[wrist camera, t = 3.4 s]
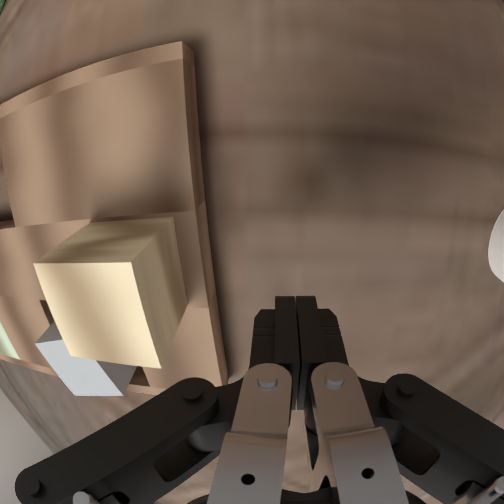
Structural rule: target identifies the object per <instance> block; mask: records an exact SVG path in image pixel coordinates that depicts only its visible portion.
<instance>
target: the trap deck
mask: <svg viewBox="0 0 504 504" xmlns="http://www.w3.org/2000/svg"><path fill="white" fill-rule="evenodd" d="M0 144H1V153H2V160H3V167H4V174H5V180H6V186H7V191H8V196H9V201H10V206H11V210H12V214H13V220H6V221H0V359H2V360H5V361H8V362H11V363H14V364H17V365H20V366H23V367H27V368H30V369H33V370H37V371H40V372H44V373H47V374H51V375H55V376H58V374H57V373H56V372H55V371H54V369H53V368H52V367H51V365H50V364H49V363H48V361H47V360H46V359H45V357H44V356H43V355H42V353H41V352H40V350H39V349H38V348H37V346H36V345H35V343H36V341H37V340H38V339H39V338H40V337H41V336H42V334H43V333H44V332H45V331H46V330H47V329H48V327H49V326H50V325H51V324H52V323H53V322H54V321H55V320H54V318H53V316H52V313H51V311H50V308H49V306H48V303H47V301H46V298H45V296H44V293H43V290H42V288H41V285H40V282H39V279H38V276H37V273H36V270H35V267H34V264H33V263H35V262H36V261H37V260H38V259H40V258H41V257H42V256H44V255H45V254H46V253H48V252H49V251H50V250H52V249H53V248H55V247H56V246H57V245H59V244H60V243H61V242H63V241H64V240H66V239H67V238H68V237H70V236H71V235H73V234H74V233H76V232H77V231H79V230H80V229H81V228H83V227H84V226H86V225H87V224H89V223H96V222H107V221H120V220H133V219H148V218H163V217H173V218H174V225H175V232H176V238H177V245H178V251H179V257H180V263H181V269H182V275H183V280H184V286H185V291H186V297H187V302H188V306H187V308H186V310H185V313H184V315H183V317H182V320H181V322H180V325H179V327H178V329H177V332H176V334H175V337H174V339H173V341H172V344H171V346H170V349H169V351H168V354H167V356H166V359H165V361H164V363H163V366H162V368H151V367H142V366H137V368H136V370H135V372H134V374H133V376H132V378H131V380H130V383H129V385H128V387H127V389H126V391H131V392H138V393H145V394H152V395H158V394H160V393H161V392H163V391H165V390H166V389H168V388H169V387H171V386H172V385H174V384H175V383H177V382H179V381H181V380H183V379H186V378H191V377H198V378H203V379H206V380H208V381H210V382H211V383H212V384H213V385H214V386H215V387H218V386H223V385H228V380H229V377H228V371H227V364H226V358H225V351H224V345H223V338H222V331H221V324H220V317H219V310H218V303H217V295H216V288H215V280H214V272H213V264H212V256H211V247H210V239H209V230H208V221H207V211H206V202H205V192H204V182H203V171H202V160H201V148H200V136H199V123H198V109H197V94H196V78H195V59H194V51H193V50H192V49H191V48H190V47H189V46H187V45H186V44H185V43H184V42H183V41H180V42H174V43H169V44H164V45H159V46H155V47H150V48H146V49H142V50H138V51H134V52H130V53H127V54H123V55H120V56H116V57H113V58H109V59H106V60H103V61H100V62H97V63H94V64H91V65H88V66H85V67H82V68H80V69H77V70H74V71H72V72H69V73H66V74H64V75H61V76H59V77H57V78H54V79H52V80H49V81H47V82H45V83H43V84H40V85H38V86H36V87H34V88H32V89H30V90H28V91H26V92H24V93H22V94H20V95H18V96H16V97H14V98H12V99H10V100H8V101H6V102H4V103H2V104H1V105H0ZM58 377H59V376H58Z"/></svg>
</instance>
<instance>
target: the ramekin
mask: <svg viewBox="0 0 504 504" xmlns="http://www.w3.org/2000/svg"><path fill="white" fill-rule="evenodd" d="M4 2H5V0H0V13H1V10H2V8H3V5H4Z"/></svg>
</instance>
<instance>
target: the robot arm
mask: <svg viewBox="0 0 504 504" xmlns="http://www.w3.org/2000/svg"><path fill="white" fill-rule="evenodd" d="M296 398H297V410H304V413H305V421H304V427H303V428H304V437H305V444H306V451H307V458H308V466H309V474H310V481H309V493H299V492H293V491H288V490H283V489H282V483H283V474H284V465H285V455H286V445H287V434H288V427H289V425H290V420H291V410H295V407H296ZM218 455H219V459H218V463H217V467H216V471H215V474H214V478H213V482H212V486H211V489H210V493H209V494H208V495H205V496H202V497H199V498H197V499H195V500H193V501H191V502H189V503H187V504H426V503H425V502H424V501H422V500H421V499H420V498H418V497H417V496H415V495H414V494H412V493H410V492H408V491H406V490H405V488H404V485H403V482H402V478H401V475H403V476H404V477H405V478H407V479H408V480H410V481H411V482H412V483H414V484H415V485H417V486H418V487H419V488H421V489H422V490H424V491H425V492H427V493H428V494H430V495H431V496H433V497H434V498H436V499H437V500H439V501H440V502H442V503H443V504H504V430H503V429H502V428H500V427H499V426H497V425H495V424H494V423H492V422H490V421H489V420H487V419H485V418H484V417H482V416H480V415H479V414H477V413H475V412H474V411H472V410H470V409H469V408H467V407H465V406H464V405H462V404H460V403H459V402H457V401H455V400H454V399H452V398H451V397H449V396H447V395H446V394H444V393H442V392H441V391H439V390H437V389H436V388H434V387H433V386H431V385H429V384H428V383H426V382H425V381H423V380H421V379H420V378H418V377H416V376H414V375H411V374H397V375H394V376H392V377H391V378H389V379H388V380H387V382H386V383H379V382H373V381H368V380H365V379H362V378H360V377H358V376H357V374H356V372H355V371H354V370H353V369H352V368H351V367H350V366H349V364H348V360H347V356H346V352H345V348H344V344H343V340H342V336H341V332H340V328H339V324H338V321H337V317H336V316H335V315H334V314H333V312H332V311H331V310H330V309H318V308H317V302H316V297H315V296H296V298H295V297H294V296H275V309H261V310H260V311H259V313H258V314H257V315H256V317H255V319H254V329H253V338H252V347H251V356H250V366H249V370H248V371H247V372H246V374H245V375H244V377H243V378H241V379H240V380H238V381H236V382H234V383H232V384H228V385H223V386H218V387H215V386H214V385H213V384H212V383H211V382H210V381H208V380H206V379H203V378H198V377H191V378H186V379H183V380H181V381H179V382H177V383H175V384H174V385H172V386H171V387H169V388H168V389H166V390H165V391H163V392H161V393H160V394H158V395H157V396H155V397H153V398H152V399H150V400H149V401H147V402H145V403H144V404H142V405H140V406H139V407H137V408H136V409H134V410H132V411H131V412H129V413H127V414H126V415H124V416H122V417H121V418H119V419H117V420H115V421H114V422H112V423H110V424H109V425H107V426H105V427H103V428H102V429H100V430H98V431H96V432H95V433H93V434H91V435H89V436H87V437H86V438H84V439H82V440H80V441H78V442H77V443H75V444H73V445H71V446H69V447H67V448H65V449H64V450H62V451H60V452H58V453H56V454H54V455H52V456H50V457H49V458H46V459H44V460H42V461H40V462H38V463H36V464H34V465H32V466H30V467H28V468H26V469H24V470H23V471H22V472H20V474H19V475H18V477H17V479H16V482H15V492H16V495H17V497H18V499H19V501H20V502H21V503H22V504H152V503H153V502H155V501H156V500H158V499H159V498H161V497H162V496H164V495H165V494H167V493H168V492H170V491H171V490H173V489H174V488H176V487H177V486H178V485H180V484H181V483H183V482H184V481H185V480H187V479H188V478H190V477H191V476H192V475H194V474H195V473H196V472H198V471H199V470H200V469H202V468H203V467H204V466H206V465H207V464H208V463H209V462H211V461H212V460H213V459H215V458H216V457H217V456H218ZM400 474H401V475H400Z"/></svg>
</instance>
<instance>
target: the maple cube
mask: <svg viewBox="0 0 504 504" xmlns="http://www.w3.org/2000/svg"><path fill="white" fill-rule="evenodd" d="M33 264H34V267H35V270H36V273H37V276H38V279H39V282H40V285H41V288H42V290H43V293H44V296H45V298H46V301H47V303H48V306H49V308H50V311H51V313H52V316H53V318H54V320H55V323H56V325H57V327H58V330H59V332H60V334H61V336H62V338H63V341H64V343H65V345H66V347H67V349H68V351H69V353H70V355H71V356H75V357H80V358H86V359H92V360H98V361H104V362H111V363H118V364H125V365H133V366H142V367H151V368H162V366H163V363H164V361H165V359H166V356H167V354H168V351H169V349H170V346H171V344H172V341H173V339H174V337H175V334H176V332H177V329H178V327H179V325H180V322H181V320H182V317H183V315H184V313H185V310H186V308H187V306H188V302H187V297H186V291H185V286H184V280H183V275H182V269H181V263H180V257H179V251H178V245H177V238H176V232H175V225H174V218H173V217H163V218H148V219H133V220H120V221H107V222H96V223H89V224H87V225H86V226H84V227H83V228H81V229H80V230H79V231H77V232H76V233H74V234H73V235H71V236H70V237H68V238H67V239H66V240H64V241H63V242H61V243H60V244H59V245H57V246H56V247H55V248H53V249H52V250H50V251H49V252H48V253H46V254H45V255H44V256H42V257H41V258H40V259H38V260H37V261H36V262H35V263H33Z"/></svg>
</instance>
